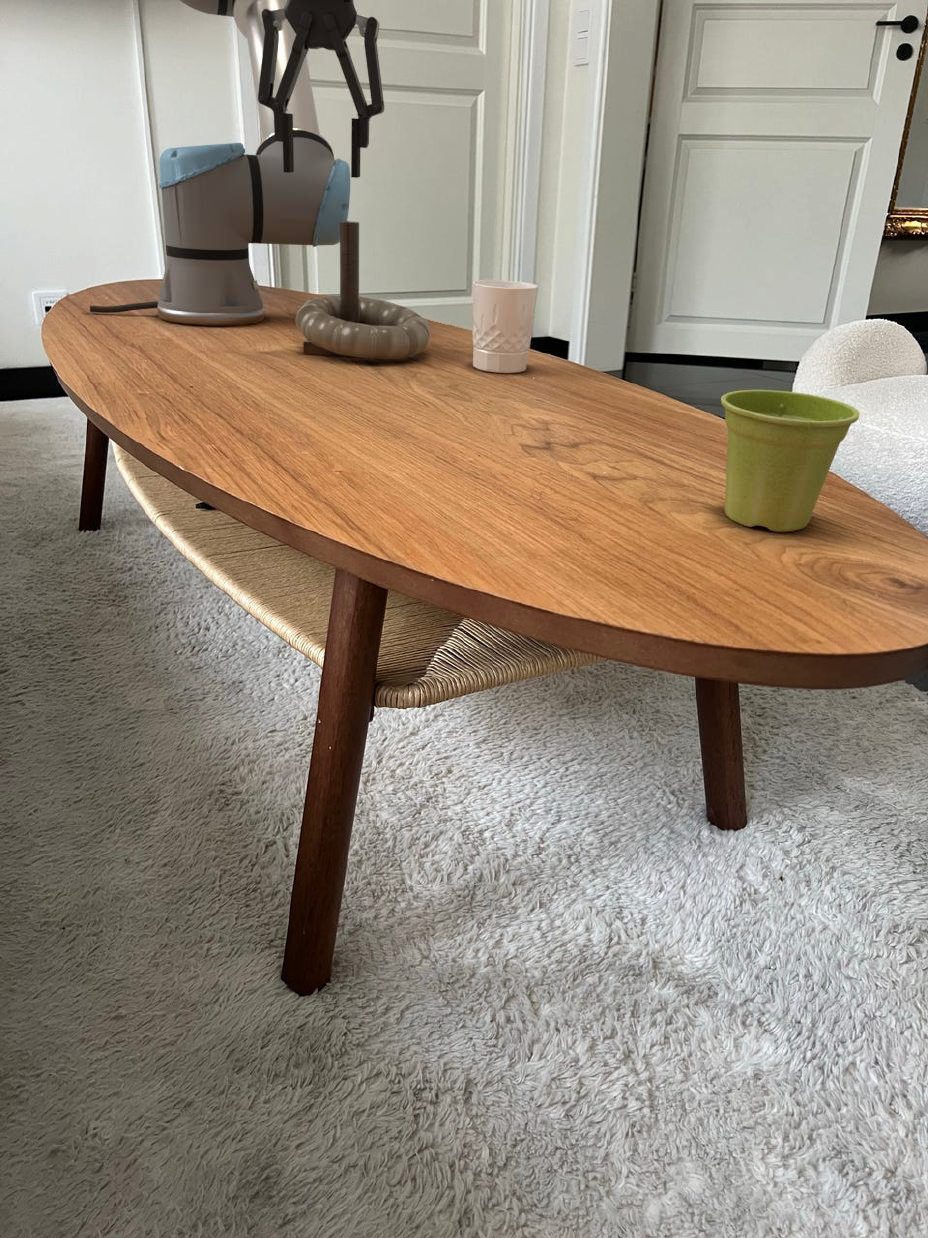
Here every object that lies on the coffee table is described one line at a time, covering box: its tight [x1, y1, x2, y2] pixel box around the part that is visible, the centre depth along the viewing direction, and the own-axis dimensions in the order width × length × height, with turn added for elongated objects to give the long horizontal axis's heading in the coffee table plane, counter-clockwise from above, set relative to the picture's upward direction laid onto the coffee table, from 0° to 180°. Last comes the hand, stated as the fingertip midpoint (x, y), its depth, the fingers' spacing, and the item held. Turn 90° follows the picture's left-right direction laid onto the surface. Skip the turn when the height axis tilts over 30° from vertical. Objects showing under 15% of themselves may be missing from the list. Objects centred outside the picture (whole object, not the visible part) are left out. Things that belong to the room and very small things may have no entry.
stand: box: [302, 220, 360, 359], centre depth 115 cm, size 10×10×16 cm
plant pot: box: [720, 389, 860, 533], centre depth 66 cm, size 9×9×9 cm
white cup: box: [471, 279, 539, 374], centre depth 111 cm, size 8×8×10 cm
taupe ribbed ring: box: [294, 294, 432, 361], centre depth 116 cm, size 17×17×4 cm
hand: (322, 174), depth 114 cm, fingers open, 8 cm apart
